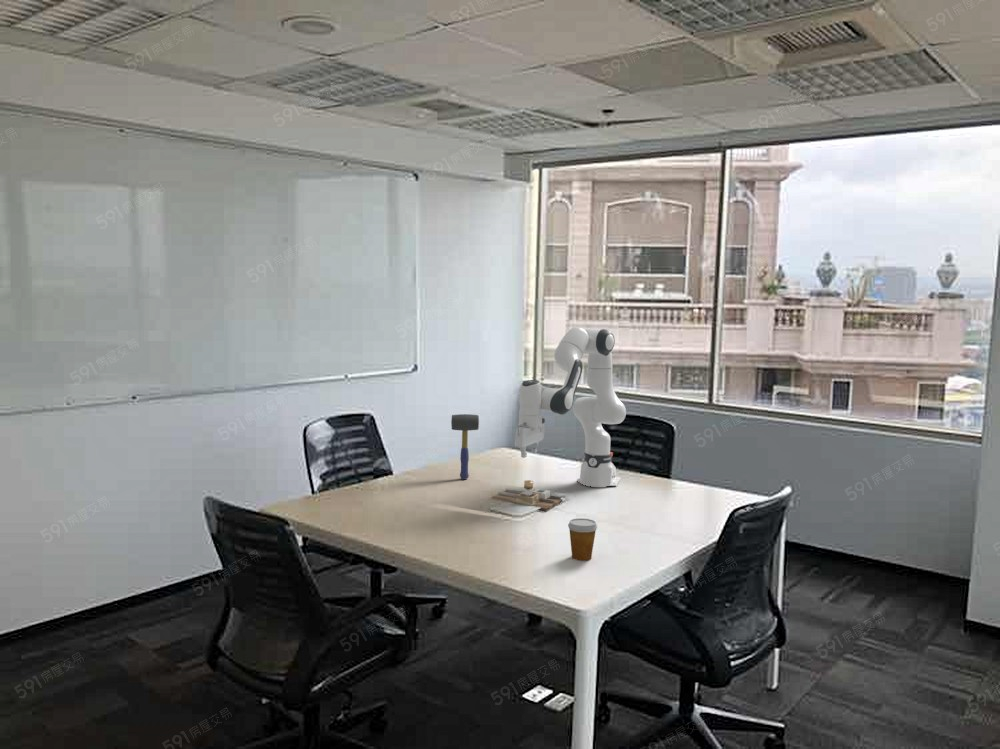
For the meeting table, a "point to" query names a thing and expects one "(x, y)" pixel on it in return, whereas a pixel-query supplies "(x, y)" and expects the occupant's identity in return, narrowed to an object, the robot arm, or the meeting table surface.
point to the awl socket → (527, 499)
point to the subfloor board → (511, 497)
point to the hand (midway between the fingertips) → (529, 455)
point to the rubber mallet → (464, 437)
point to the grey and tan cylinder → (528, 488)
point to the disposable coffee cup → (582, 538)
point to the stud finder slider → (542, 493)
